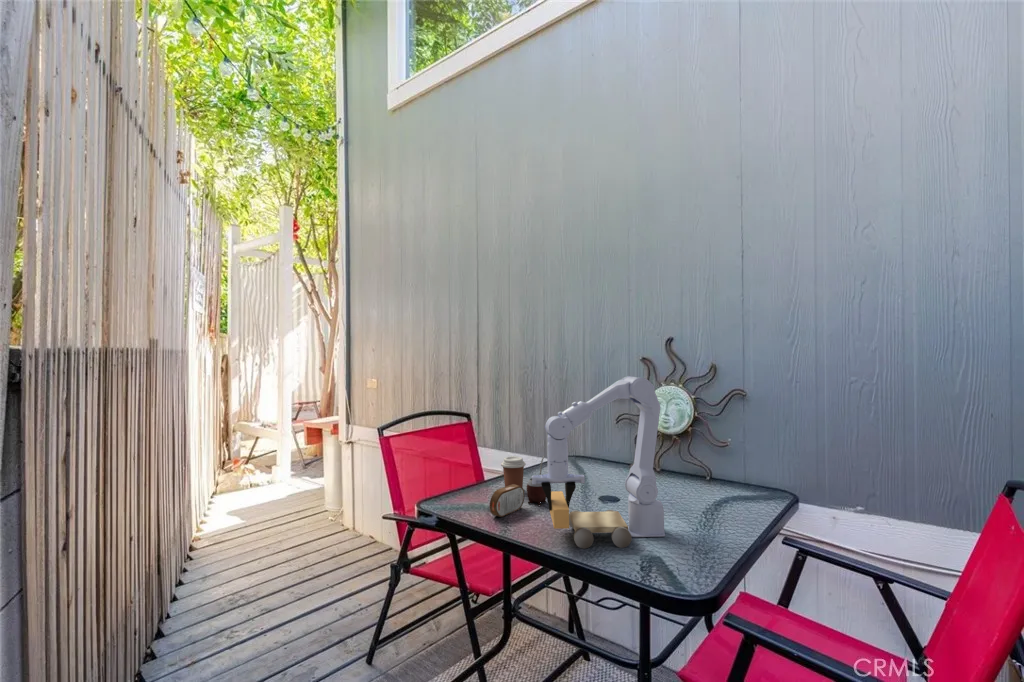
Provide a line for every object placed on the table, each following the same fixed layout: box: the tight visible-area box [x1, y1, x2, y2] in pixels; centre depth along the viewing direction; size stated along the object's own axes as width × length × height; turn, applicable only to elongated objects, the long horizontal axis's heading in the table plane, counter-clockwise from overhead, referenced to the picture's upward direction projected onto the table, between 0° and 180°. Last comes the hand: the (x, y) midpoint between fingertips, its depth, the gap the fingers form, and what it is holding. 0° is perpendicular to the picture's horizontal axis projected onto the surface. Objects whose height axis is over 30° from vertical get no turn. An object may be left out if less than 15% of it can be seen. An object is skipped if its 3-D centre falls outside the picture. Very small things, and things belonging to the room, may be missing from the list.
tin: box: [489, 484, 525, 518], centre depth 156 cm, size 15×3×8 cm, turn 141°
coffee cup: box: [500, 455, 527, 489], centre depth 180 cm, size 9×9×12 cm
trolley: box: [569, 509, 633, 550], centre depth 135 cm, size 15×15×5 cm
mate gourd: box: [526, 455, 547, 506], centre depth 166 cm, size 8×8×15 cm
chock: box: [549, 490, 570, 530], centre depth 136 cm, size 4×16×5 cm, turn 0°
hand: (558, 509), depth 135 cm, fingers closed on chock, 4 cm apart
